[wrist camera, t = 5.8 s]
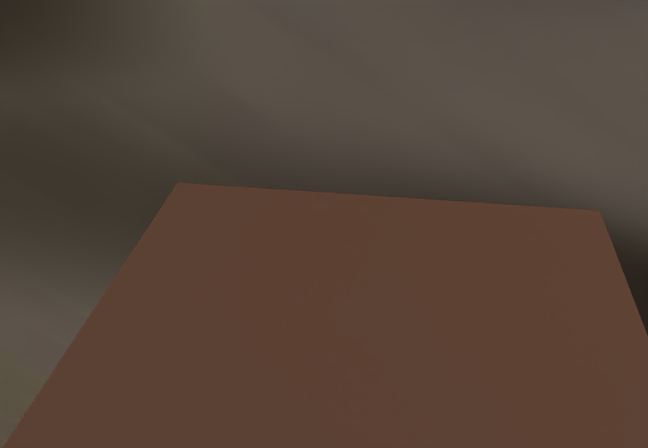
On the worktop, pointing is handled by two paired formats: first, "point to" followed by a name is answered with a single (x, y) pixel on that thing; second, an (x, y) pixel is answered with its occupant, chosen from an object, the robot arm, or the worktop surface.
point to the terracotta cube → (354, 330)
